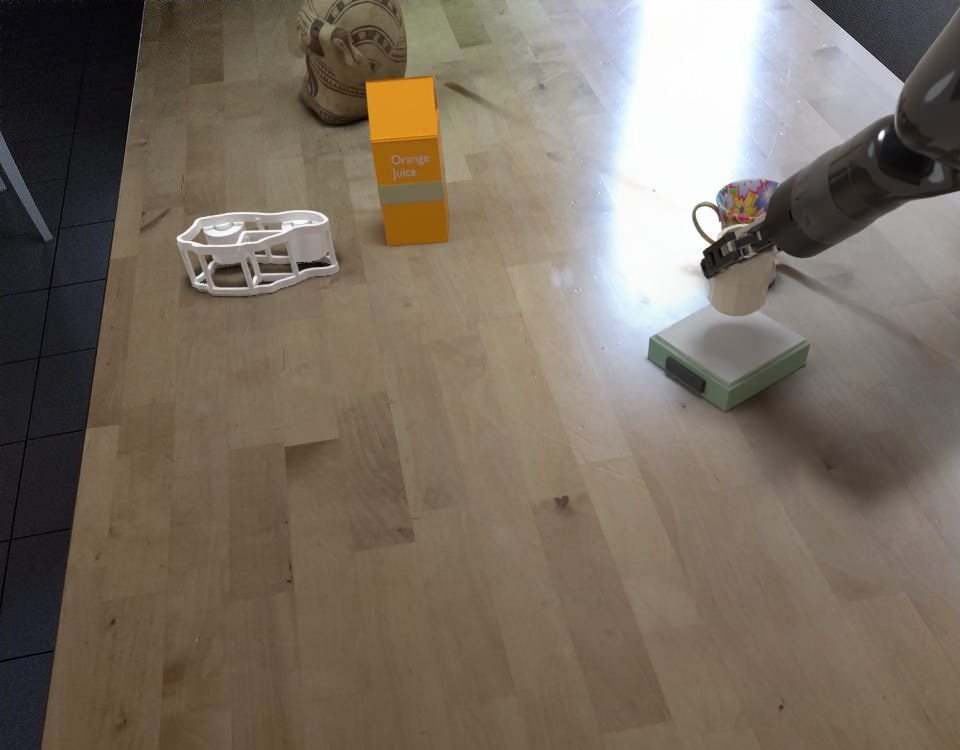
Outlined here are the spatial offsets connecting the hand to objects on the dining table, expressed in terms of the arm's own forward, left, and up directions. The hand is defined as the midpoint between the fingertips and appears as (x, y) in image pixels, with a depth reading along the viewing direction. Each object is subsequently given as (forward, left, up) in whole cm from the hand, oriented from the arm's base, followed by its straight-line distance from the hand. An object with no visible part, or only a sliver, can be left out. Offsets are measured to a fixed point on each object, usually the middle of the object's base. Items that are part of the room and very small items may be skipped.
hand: (732, 259), depth 98 cm
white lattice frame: (+33, -53, -12) cm, 64 cm away
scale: (0, +2, -12) cm, 12 cm away
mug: (-13, -10, -12) cm, 21 cm away
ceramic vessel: (-4, -89, -12) cm, 90 cm away
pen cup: (0, +2, -4) cm, 5 cm away
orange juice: (+11, -48, -12) cm, 51 cm away
